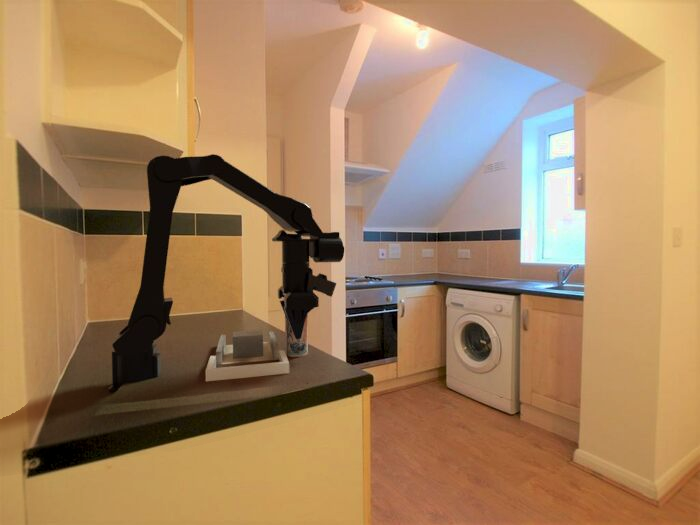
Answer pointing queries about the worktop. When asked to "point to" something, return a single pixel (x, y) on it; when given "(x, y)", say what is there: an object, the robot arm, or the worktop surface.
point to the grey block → (247, 344)
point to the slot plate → (226, 357)
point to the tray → (246, 369)
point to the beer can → (296, 340)
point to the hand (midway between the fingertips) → (296, 335)
